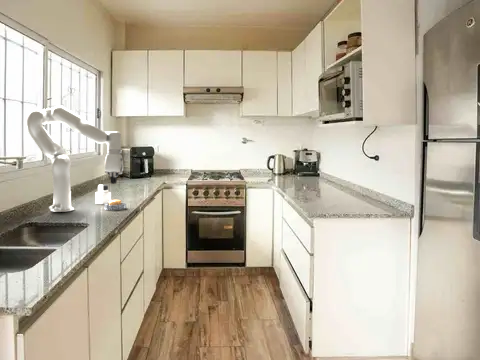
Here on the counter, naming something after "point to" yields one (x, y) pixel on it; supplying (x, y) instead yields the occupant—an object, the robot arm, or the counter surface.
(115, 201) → the pale yellow rounded lump
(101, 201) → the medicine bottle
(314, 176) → the counter surface
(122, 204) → the faceted metal bowl
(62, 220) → the counter surface
